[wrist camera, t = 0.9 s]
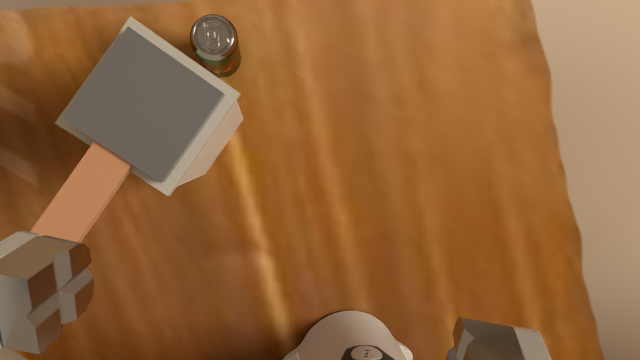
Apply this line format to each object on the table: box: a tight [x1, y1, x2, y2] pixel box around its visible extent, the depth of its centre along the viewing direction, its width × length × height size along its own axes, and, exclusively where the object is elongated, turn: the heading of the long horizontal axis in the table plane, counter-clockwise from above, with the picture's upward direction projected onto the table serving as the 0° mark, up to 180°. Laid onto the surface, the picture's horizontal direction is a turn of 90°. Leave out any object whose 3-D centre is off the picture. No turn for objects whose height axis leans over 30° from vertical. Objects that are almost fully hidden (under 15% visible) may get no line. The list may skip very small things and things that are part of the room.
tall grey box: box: [55, 16, 243, 196], centre depth 46 cm, size 10×10×26 cm
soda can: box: [190, 14, 241, 77], centre depth 53 cm, size 5×5×12 cm
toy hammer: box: [31, 26, 225, 243], centre depth 33 cm, size 18×8×2 cm, turn 145°
